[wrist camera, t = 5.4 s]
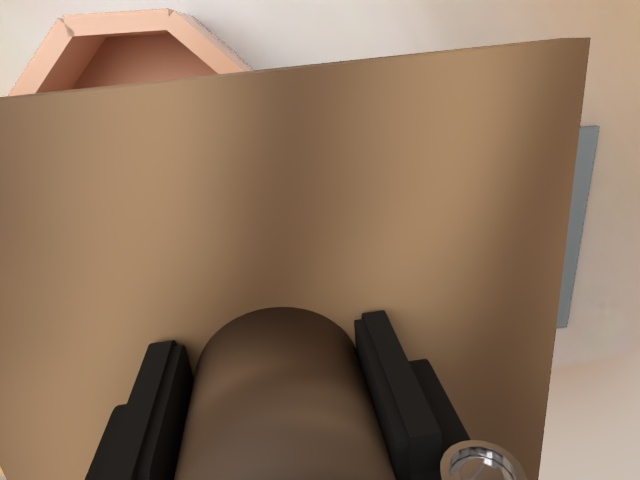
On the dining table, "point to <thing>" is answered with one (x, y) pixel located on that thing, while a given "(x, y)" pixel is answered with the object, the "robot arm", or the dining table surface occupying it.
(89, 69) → the bowl
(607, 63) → the dining table surface
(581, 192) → the mat
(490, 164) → the lid
